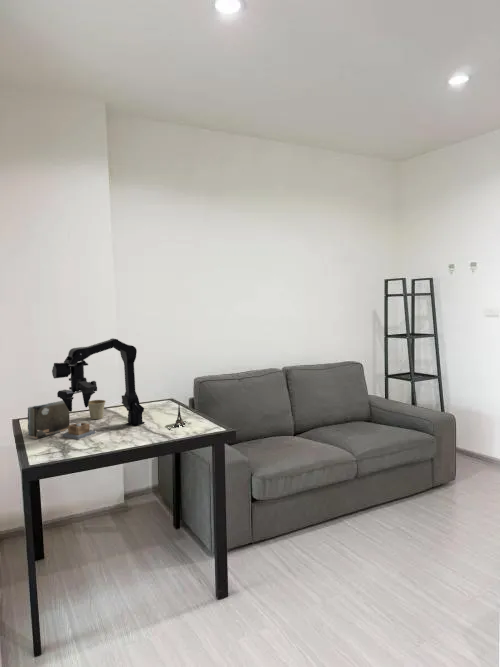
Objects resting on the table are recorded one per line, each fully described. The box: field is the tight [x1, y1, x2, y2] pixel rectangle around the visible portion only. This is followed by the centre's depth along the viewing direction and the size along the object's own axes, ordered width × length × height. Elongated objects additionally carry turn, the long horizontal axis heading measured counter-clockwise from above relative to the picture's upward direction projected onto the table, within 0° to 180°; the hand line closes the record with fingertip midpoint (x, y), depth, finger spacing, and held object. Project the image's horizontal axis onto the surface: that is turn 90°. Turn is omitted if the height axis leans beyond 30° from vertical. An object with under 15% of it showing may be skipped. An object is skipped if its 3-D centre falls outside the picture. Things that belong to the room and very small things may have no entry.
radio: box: [26, 399, 71, 440], centre depth 223 cm, size 23×9×15 cm, turn 150°
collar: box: [67, 422, 91, 435], centre depth 219 cm, size 7×7×4 cm
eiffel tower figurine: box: [164, 402, 187, 429], centre depth 233 cm, size 15×10×13 cm
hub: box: [62, 422, 96, 440], centre depth 219 cm, size 10×10×5 cm
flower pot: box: [87, 399, 107, 420], centre depth 249 cm, size 9×9×9 cm
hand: (78, 409), depth 219 cm, fingers open, 9 cm apart
